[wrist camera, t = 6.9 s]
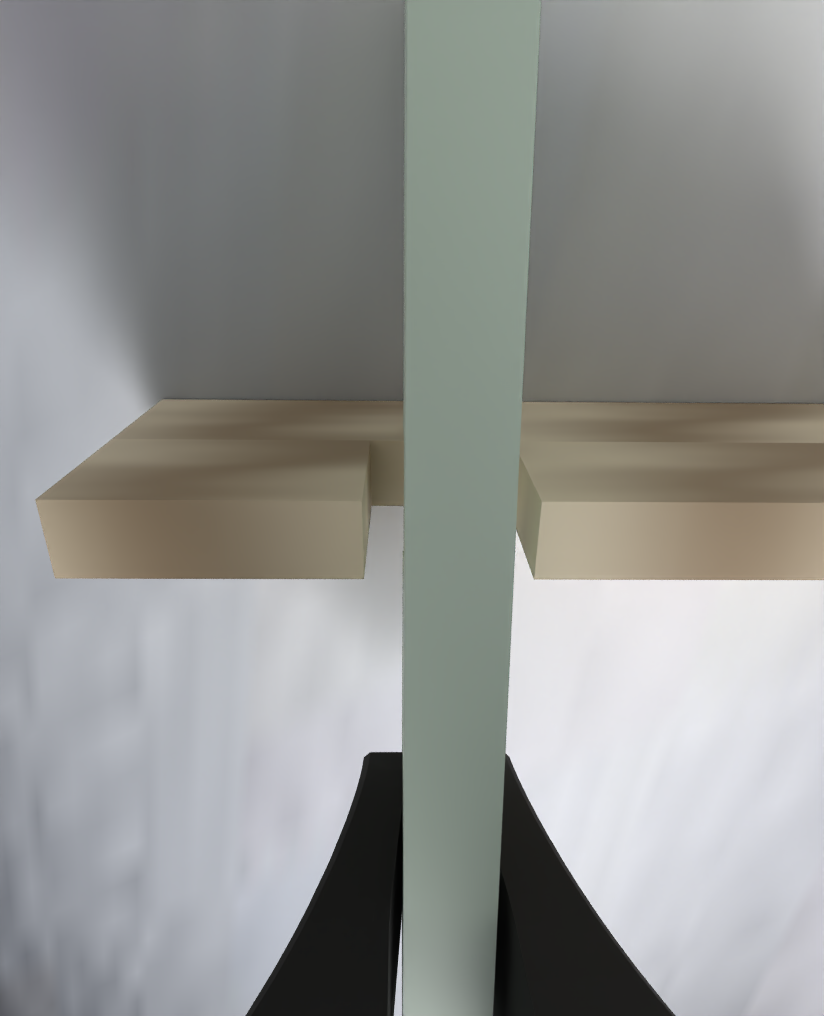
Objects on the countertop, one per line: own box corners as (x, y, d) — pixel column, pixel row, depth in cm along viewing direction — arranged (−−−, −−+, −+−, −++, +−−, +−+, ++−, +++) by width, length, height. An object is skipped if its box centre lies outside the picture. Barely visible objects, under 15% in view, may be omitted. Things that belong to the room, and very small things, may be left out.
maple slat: (1136, 405, 13) (1509, 505, 9) (1110, 460, 14) (1451, 581, 9) (162, 399, 13) (35, 499, 9) (170, 455, 14) (54, 578, 9)
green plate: (457, 852, 14) (488, 1122, 9) (401, 853, 14) (402, 1122, 9) (482, -17, 10) (557, -346, 5) (404, -18, 10) (409, -350, 5)
